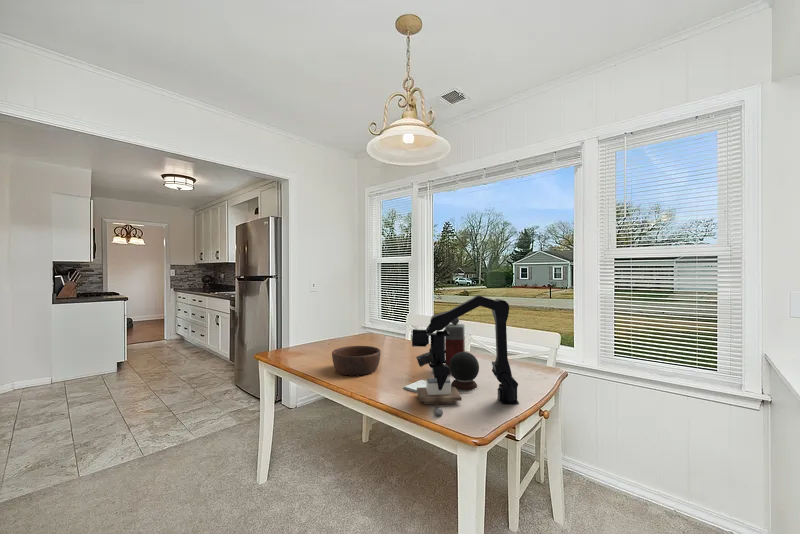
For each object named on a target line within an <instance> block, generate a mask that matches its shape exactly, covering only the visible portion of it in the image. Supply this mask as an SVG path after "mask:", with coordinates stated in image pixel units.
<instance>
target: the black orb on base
mask: <svg viewBox="0 0 800 534" xmlns="http://www.w3.org/2000/svg"><path fill="white" fill-rule="evenodd" d="M449 369H450V375H451V376H452V378H453V380H452V381H451V387H456V389H457V390H458V391H459V390H460V391H471V390H472V389H473V390H475V388H476V389H477V387H478V384H477V382H476V381H475V379H476V378H477V377H478V374H479V372H480V364H479V361H478V359H477V358H476V356H475V355H473V353H470V352H468V351H465V352H459V353H456V354H455V355H454V356H453V357H452V358H451V360H450V363H449Z"/></svg>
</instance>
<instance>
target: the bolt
mask: <svg viewBox="0 0 800 534" xmlns="http://www.w3.org/2000/svg"><path fill="white" fill-rule="evenodd" d="M434 410H435V411H434V413H435V415H436V416H437V417H441V416H443V414H444V411H443V409H442V408H441V407H440V406H439V404H435V406H434Z"/></svg>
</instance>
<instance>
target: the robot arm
mask: <svg viewBox="0 0 800 534" xmlns="http://www.w3.org/2000/svg"><path fill="white" fill-rule="evenodd" d="M478 307H482V308H483V307H484V308H486V309H489V310H491V313H492V316H493V320H494V324H495V325H494V327H495V328H494V329H495V350H496V351H495V352H496V357H495V361H494V360H493V361H491V365H492V369H491V372H492V374H493V375H494V377H495V379H497V381H498V388H497V399H498V400H499V402H500V403H501V404H502V405H517V404H520V401H518V386H519V382H517V380H516V379H515V378H514V377H513V374H512V370H511V366H510V363H509V362H510V361H509V358H508V339H507V338H508V337H507V336H508V335H507V321H508V318H509V313H510V304H509V303H508V302H507V301H506V300H504V299H501V298H497V299H492V298H488V297H484V296H482V295H479V294H477V295H475V296H474V297H472V298H470V299H468V300H466V301H464V302H463V303H460V304H459V305H457V306H455V307H453V308H452V309H450V310H445V311H442V312H439V313H437V314H433V315H432V316H431V318H430V322H429V324H428V325H427V326H426V328H425V329H418V328H415V329H414V328H413V329H412V336H411V347H413V348H414V347H419V348H421V347H422V348H424V347H426V348H427V346H428V345H430V347H429V349H428V352H425V353H422V354H419V355H418V356H416V361H417V363H418V366H419V368H420V367H421V368H422V367H424V366H425V365H428V366H429V367H430V368H431V371H432V375H433V378H437V384H438V389H439V390H442V388H443V386H444V383H445V381H446V379H447V378H448V377H449V375H451V373H450V369H449V367H448V366H447V365H446V356H445V353H446V350H445V336H450V334H449V332H447V330H446V329H445V327H446V326H447V325H448V324H452V323H451V322H452V321H453V320H454V319H456V318H460V317H461V316H463V315H465V314H467V313H469V312H471V311H474V310H475V309H477V308H478Z"/></svg>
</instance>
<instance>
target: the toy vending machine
mask: <svg viewBox="0 0 800 534" xmlns="http://www.w3.org/2000/svg"><path fill="white" fill-rule="evenodd" d="M459 322H460V317H458V318H456V319H454V320H453V321H452V322H451V323H450V324H448V325H447V326H446V327H445V328H444V329H446V330H447V332H449V334H450V336H445V350H446V353H445V360H446V365H447V366H448V367H449V363H450V360H451V358H452V357H453V356H454V355H455V354H456V353H459V352H466V351H465V350H466V348H465V347H466V343H465V339H466V337H465V335H466V334H465V324H463V323H459Z"/></svg>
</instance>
